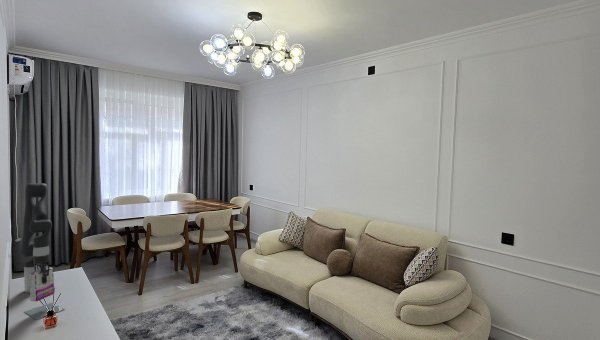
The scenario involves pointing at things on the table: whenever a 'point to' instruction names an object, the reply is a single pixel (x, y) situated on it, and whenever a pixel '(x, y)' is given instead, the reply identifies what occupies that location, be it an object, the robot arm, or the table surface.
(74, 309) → the table surface
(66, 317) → the table surface
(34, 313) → the mat
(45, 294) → the candy bar box
